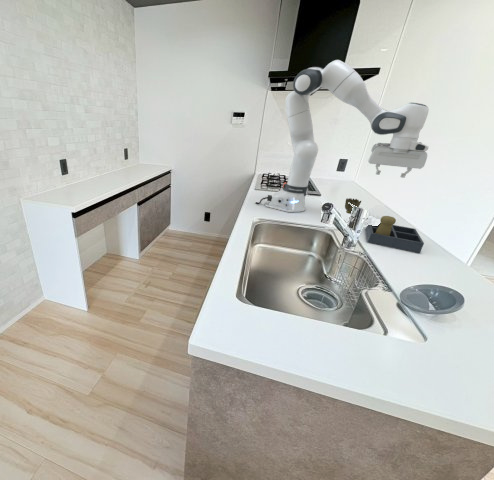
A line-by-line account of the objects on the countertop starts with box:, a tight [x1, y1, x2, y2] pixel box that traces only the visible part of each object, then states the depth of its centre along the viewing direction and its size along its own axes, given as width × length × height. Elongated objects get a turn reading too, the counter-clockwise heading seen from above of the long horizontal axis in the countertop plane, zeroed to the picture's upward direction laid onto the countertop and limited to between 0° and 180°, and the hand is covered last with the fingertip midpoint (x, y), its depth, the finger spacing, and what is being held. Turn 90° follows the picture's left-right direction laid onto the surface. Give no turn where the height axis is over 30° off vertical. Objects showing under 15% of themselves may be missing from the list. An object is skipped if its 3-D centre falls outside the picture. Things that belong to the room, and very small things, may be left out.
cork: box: [375, 215, 396, 236], centre depth 114 cm, size 6×6×11 cm
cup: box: [344, 197, 362, 215], centre depth 148 cm, size 8×7×8 cm
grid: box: [365, 224, 425, 254], centre depth 117 cm, size 18×18×5 cm
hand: (389, 175), depth 120 cm, fingers open, 8 cm apart
